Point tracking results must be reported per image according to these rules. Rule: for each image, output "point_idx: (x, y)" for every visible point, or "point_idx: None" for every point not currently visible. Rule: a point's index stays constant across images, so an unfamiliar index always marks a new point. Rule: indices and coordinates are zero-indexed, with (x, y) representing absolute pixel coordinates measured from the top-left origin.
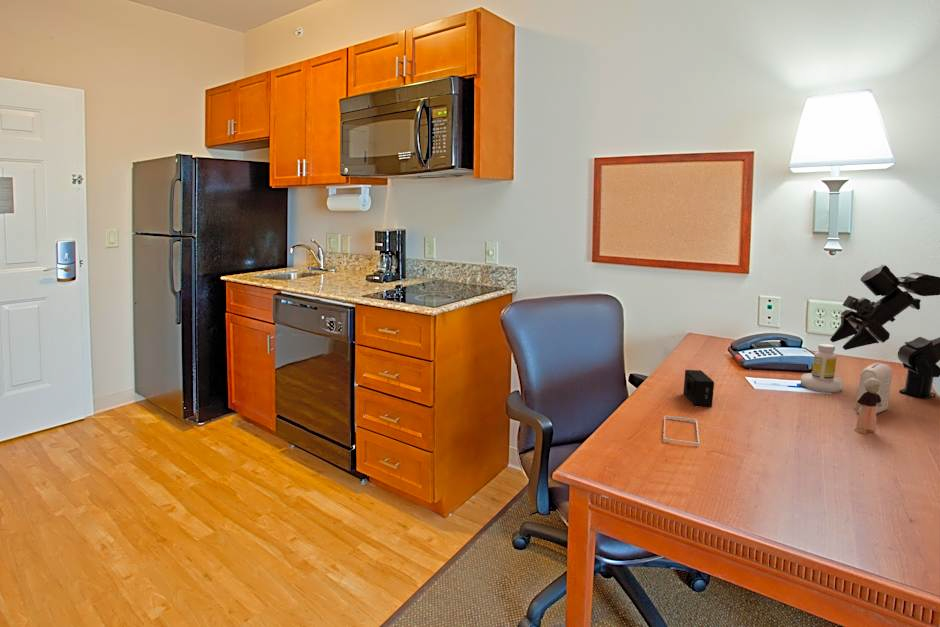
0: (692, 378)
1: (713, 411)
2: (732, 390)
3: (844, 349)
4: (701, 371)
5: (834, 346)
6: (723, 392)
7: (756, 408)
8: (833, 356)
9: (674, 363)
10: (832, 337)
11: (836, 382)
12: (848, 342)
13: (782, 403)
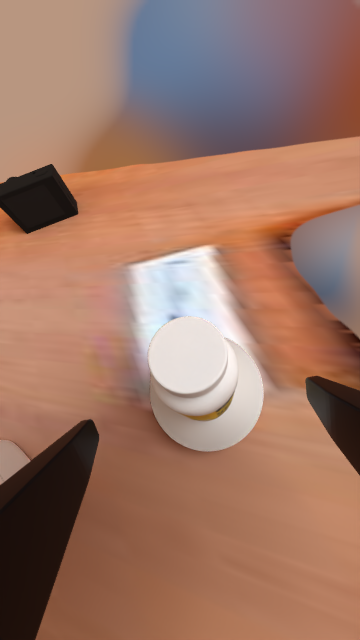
0: (11, 179)
1: (12, 237)
2: (108, 241)
3: (96, 433)
4: (45, 177)
5: (169, 389)
6: (94, 233)
7: (26, 276)
8: (158, 394)
9: (241, 157)
10: (318, 385)
11: (171, 425)
12: (43, 452)
13: (54, 307)
